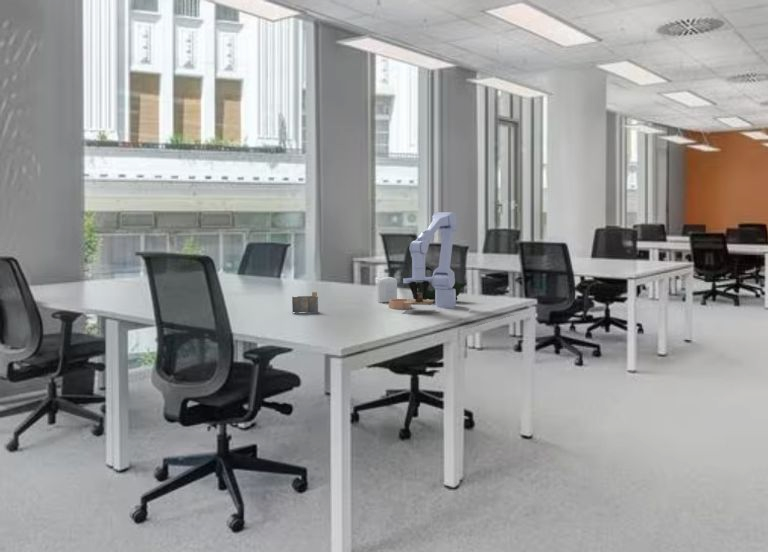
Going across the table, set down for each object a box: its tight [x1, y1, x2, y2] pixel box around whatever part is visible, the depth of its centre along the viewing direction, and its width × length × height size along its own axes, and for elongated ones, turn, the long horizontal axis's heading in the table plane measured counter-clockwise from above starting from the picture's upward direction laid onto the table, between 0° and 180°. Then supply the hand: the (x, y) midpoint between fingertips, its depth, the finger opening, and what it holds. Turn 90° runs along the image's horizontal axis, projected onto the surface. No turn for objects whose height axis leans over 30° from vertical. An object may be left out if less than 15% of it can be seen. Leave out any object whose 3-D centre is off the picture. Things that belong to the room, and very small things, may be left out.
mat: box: [401, 308, 437, 315], centre depth 302 cm, size 13×13×1 cm
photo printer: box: [377, 276, 398, 304], centre depth 341 cm, size 10×4×12 cm, turn 123°
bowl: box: [388, 298, 412, 310], centre depth 316 cm, size 10×10×4 cm
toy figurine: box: [416, 265, 467, 304], centre depth 338 cm, size 9×19×25 cm
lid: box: [403, 293, 435, 306], centre depth 302 cm, size 12×12×4 cm
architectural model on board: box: [291, 291, 319, 313], centre depth 309 cm, size 11×3×10 cm, turn 94°
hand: (419, 298), depth 302 cm, fingers closed on lid, 3 cm apart
